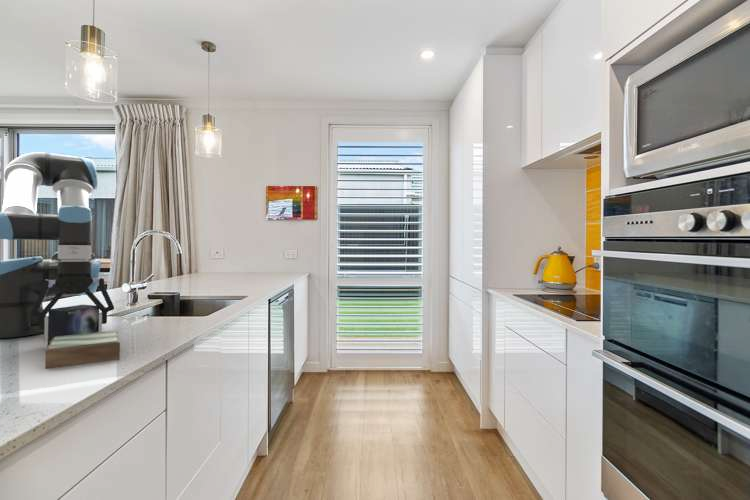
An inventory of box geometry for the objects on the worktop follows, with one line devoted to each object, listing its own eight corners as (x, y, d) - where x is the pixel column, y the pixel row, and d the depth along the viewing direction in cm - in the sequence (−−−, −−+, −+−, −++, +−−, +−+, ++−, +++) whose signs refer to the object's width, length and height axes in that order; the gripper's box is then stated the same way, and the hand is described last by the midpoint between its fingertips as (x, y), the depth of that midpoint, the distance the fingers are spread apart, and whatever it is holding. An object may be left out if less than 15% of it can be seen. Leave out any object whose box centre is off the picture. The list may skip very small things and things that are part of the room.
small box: (65, 349, 105) (66, 310, 105) (46, 348, 106) (46, 309, 106) (100, 340, 115) (100, 304, 115) (82, 339, 117) (82, 304, 117)
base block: (52, 352, 101) (52, 336, 101) (117, 345, 109) (117, 330, 109) (45, 368, 88) (45, 349, 88) (119, 358, 96) (119, 341, 96)
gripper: (16, 261, 101) (15, 346, 101) (125, 260, 115) (124, 335, 115) (21, 260, 107) (20, 340, 107) (123, 260, 121) (123, 330, 121)
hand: (74, 338), depth 111 cm, fingers closed on small box, 11 cm apart
